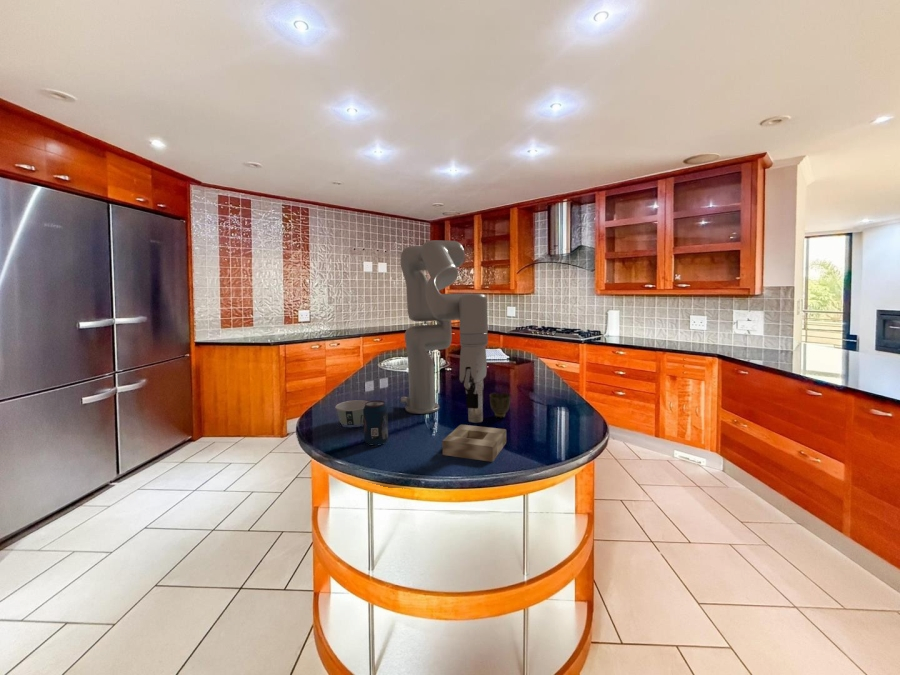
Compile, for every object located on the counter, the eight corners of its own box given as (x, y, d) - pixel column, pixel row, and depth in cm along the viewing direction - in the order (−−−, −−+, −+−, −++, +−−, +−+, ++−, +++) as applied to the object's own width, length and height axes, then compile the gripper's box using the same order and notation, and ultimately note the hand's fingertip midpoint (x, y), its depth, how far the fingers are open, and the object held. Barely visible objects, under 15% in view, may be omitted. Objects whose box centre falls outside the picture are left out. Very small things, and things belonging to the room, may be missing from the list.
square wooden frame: (442, 454, 110) (442, 440, 109) (460, 437, 122) (460, 424, 122) (492, 461, 104) (492, 446, 104) (506, 442, 117) (506, 429, 117)
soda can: (366, 438, 123) (364, 400, 122) (389, 437, 123) (388, 399, 122) (362, 447, 116) (361, 406, 115) (387, 446, 116) (385, 405, 115)
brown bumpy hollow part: (510, 413, 145) (510, 391, 144) (511, 420, 137) (511, 397, 136) (489, 413, 145) (489, 391, 144) (489, 420, 138) (489, 397, 137)
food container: (343, 417, 145) (342, 400, 144) (376, 418, 143) (375, 400, 143) (330, 429, 133) (329, 409, 132) (366, 429, 131) (365, 410, 131)
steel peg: (466, 421, 111) (465, 371, 110) (471, 417, 115) (470, 368, 113) (480, 423, 110) (479, 372, 108) (484, 418, 113) (483, 369, 112)
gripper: (470, 336, 119) (472, 397, 121) (449, 343, 104) (451, 413, 105) (495, 336, 116) (496, 399, 118) (477, 343, 101) (478, 415, 103)
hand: (475, 405), depth 112 cm, fingers closed on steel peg, 4 cm apart
